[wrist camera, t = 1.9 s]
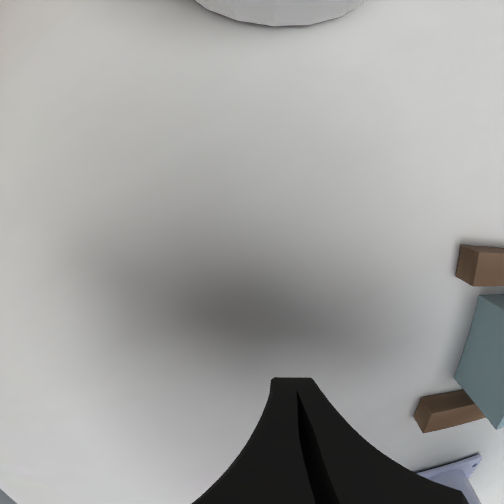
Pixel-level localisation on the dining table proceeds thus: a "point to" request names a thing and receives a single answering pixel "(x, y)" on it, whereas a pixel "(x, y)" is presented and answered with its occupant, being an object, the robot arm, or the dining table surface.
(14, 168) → the dining table surface
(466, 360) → the painted block
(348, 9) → the bottle
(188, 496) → the dining table surface
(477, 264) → the pair of wooden rails
